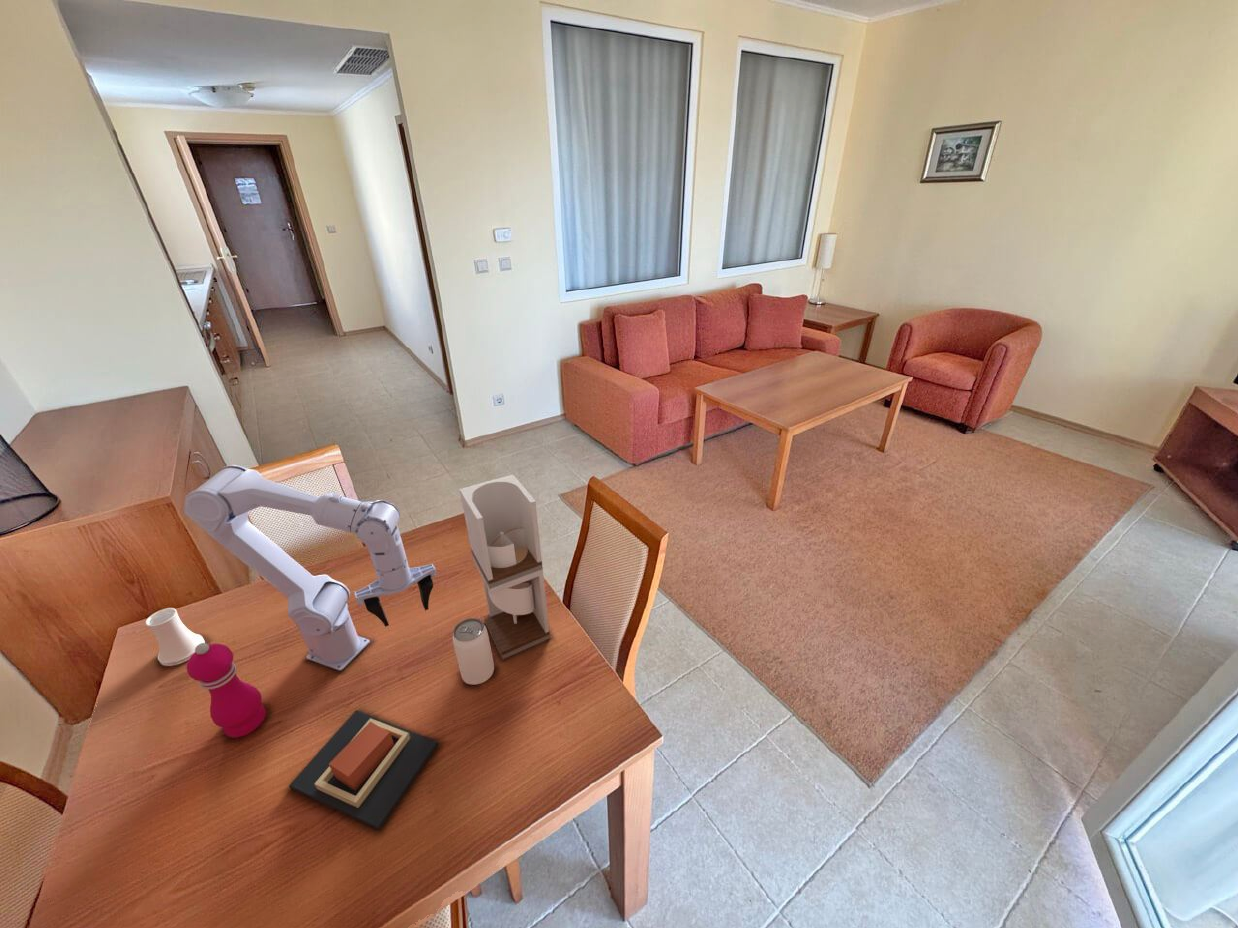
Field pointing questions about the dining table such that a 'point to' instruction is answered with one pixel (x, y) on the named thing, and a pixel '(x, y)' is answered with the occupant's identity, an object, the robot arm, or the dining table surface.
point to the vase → (173, 637)
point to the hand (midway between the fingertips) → (406, 614)
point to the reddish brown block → (362, 756)
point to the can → (473, 651)
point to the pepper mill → (226, 690)
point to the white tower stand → (508, 561)
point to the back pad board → (380, 786)
